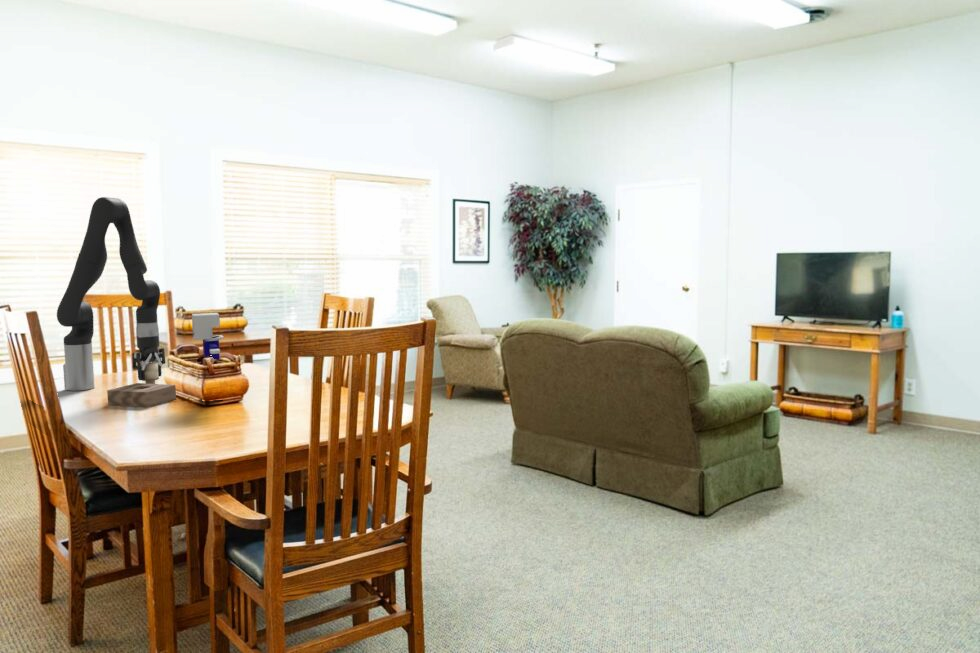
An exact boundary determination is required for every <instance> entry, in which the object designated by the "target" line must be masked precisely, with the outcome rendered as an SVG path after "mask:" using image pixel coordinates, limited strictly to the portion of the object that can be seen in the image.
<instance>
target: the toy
mask: <svg viewBox="0 0 980 653" xmlns="http://www.w3.org/2000/svg"><path fill="white" fill-rule="evenodd" d="M191 322H192V323H191V324H192V338H193V340H194V341H202V350H203V351H202V352H203V353H202V354H204V356H203V358H204V357H206V356H209V357H213V358H214V359H220V357H221V356H220V354H221V349H220V340H221V339H223V338H224V337H225V336H223V334H220V335H219V334H216V335H214V334H213V333H214V330H213V329H214V328H216V327H217V328H220V327H221V320H220V314H219V313H218V312H206V313H205V312H204V313H200V312H199V313H192V314H191ZM210 355H212V356H210Z"/></svg>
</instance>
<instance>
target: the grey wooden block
mask: <svg viewBox="0 0 980 653" xmlns="http://www.w3.org/2000/svg"><path fill="white" fill-rule="evenodd" d="M106 392H107V393H106V394H107V405H109V406H123V407H124V406H125V407H135V408H136V407H139V408H140V407H141V408H142V407H143V408H149V407H153V406H156V405H160V404H163V403H167V402H171V401H173V399H174V400H177V395H176V394H177V393H176V384H165V383H163V384H162V383H161V384H160V383H155V384H146V382H145V383H144V382H143V383H140V382H136V383H133V384H132V383H131V384H127V385H124V386H119V387H114V388H111V389H107V390H106Z"/></svg>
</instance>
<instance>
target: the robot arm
mask: <svg viewBox="0 0 980 653" xmlns="http://www.w3.org/2000/svg"><path fill="white" fill-rule="evenodd" d="M90 210H91V211H90V214H89V220H88V223H87V228H86V232H85V236H84V239H83V242H82V245H81V248H80V251H79V253H78V256H77V259H76V262H75V266H74V268H73V272H72V273H71V274H72V275H71V276H70V279H69V282H68V285H67V287H66V290H65V292H64V294H63V296H62V298H61V300H60V302H59V304H58V307H57V310H56V318H57V322H58V323H59V324H60V325H61V326H63V327H69V328H70V327H71V330H70V332H69V333H68V334H66V335H65V336H64V337H63V350H64V364H63V365H62V367H63V368H62V369H63V381H64V383H63V384H64V390H67V391H72V392H74V391H88V390H91V389H92V390H93V389H94V388H95V373H94V370H95V369H94V359H93V358H94V356H93V355H94V354H93V337H94V312H93V311H94V310H93V308H92V306H91V305H90V303H89V302H87V301H85V300H84V299H85V298H84V297H85V296H86V295H87V293H88V292H89V291H90V289H91V288H92V287H93V286H94V285H95V284H97V282H98V280H99V279H100V278H101V277H102V275H103V273H104V270H105V267H106V264H107V260H108V251H107V247H106V235H107V232H108V229H109V227H110V224H112V225H114V227H115V229H116V230H117V233H118V237H119V248H118V250H119V258H120V261H121V263H122V266H123V268H124V270H125V273H126V277H127V284H128V285H127V286H128V290H129V293H130V294H131V296H132V297H133V299H135V300H136V301H142V302H141V305H140V306H139V307H137V308H136V311H135V318H136V319H135V320H136V326H135V327H136V328H135V332H136V334H135V335H136V348H138V350H139V351H138V352H133V353H132V370H136V371H137V378H138V381H142V382H143V380H145V370H144V368H145V366H146V365H147V364H148V363H150V362H157V363H158V374H159V377H161V376H162V367H163V365H164V364H166V355H165V348H161V347H160V330H159V324H158V308H159V301H160V296H161V289H160V286H159V284H158V283H157V282H156V281H154V280H149V279H148V280H145V276H144V274H145V275H146V273H147V271H148V268H147V264H146V262H145V260H144V258H143V254H142V253H141V250H140V249H139V244H138V242H137V239H136V234H135V230H134V227H133V223H132V219H131V213H130V210H129V207H128V205H127V203H126V202H125V201H124V200H122V199H121V198H118V197H116V198H115V197H106V196H105V197H104V196H101V197H98V198H97V199H95V201H94V202H93V204H92V206H91V209H90ZM159 347H160V348H159ZM141 365H142V367H141Z"/></svg>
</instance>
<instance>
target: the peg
mask: <svg viewBox="0 0 980 653" xmlns="http://www.w3.org/2000/svg"><path fill="white" fill-rule="evenodd" d="M141 367H142V365H141ZM144 370H145V380H143V381H144V382H145V384H156V381H158V380H159V379H160V376H159V374H158V363H157V362H150V363H148V364H147V365H146V366H145V368H144ZM143 381H142V382H143Z"/></svg>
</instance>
